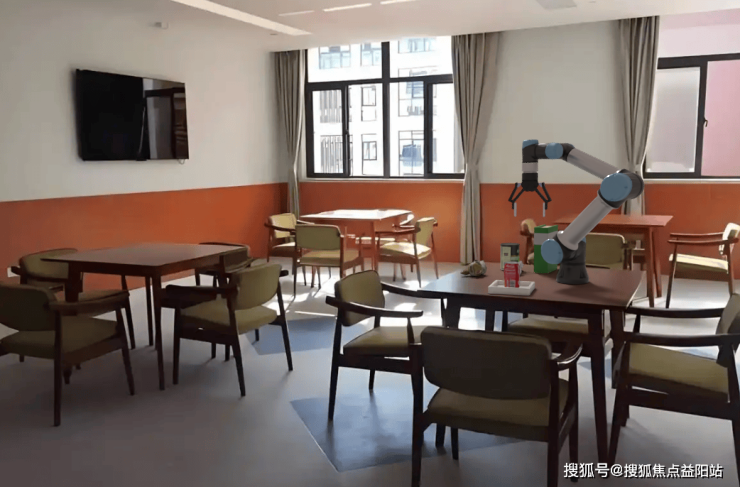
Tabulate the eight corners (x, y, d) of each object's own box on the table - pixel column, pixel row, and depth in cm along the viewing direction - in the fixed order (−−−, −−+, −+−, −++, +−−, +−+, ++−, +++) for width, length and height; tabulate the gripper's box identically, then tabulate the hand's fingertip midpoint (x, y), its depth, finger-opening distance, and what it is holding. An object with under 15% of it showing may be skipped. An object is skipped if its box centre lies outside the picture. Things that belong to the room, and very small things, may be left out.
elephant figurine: (516, 272, 348) (516, 259, 347) (525, 275, 339) (525, 261, 338) (503, 273, 346) (503, 260, 345) (511, 276, 337) (512, 262, 336)
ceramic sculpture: (491, 258, 342) (476, 263, 331) (492, 274, 343) (477, 280, 332) (474, 256, 349) (458, 261, 338) (474, 272, 350) (459, 278, 339)
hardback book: (543, 268, 362) (544, 224, 359) (557, 268, 358) (558, 224, 355) (533, 272, 347) (534, 227, 344) (547, 273, 343) (548, 227, 340)
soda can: (514, 286, 303) (515, 260, 302) (522, 289, 296) (523, 262, 295) (501, 287, 301) (501, 261, 300) (508, 290, 294) (508, 263, 293)
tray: (534, 288, 304) (534, 281, 304) (529, 295, 287) (529, 288, 287) (495, 286, 310) (495, 279, 310) (488, 293, 294) (488, 286, 293)
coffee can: (519, 268, 363) (519, 242, 362) (519, 271, 353) (519, 244, 352) (500, 267, 365) (500, 242, 364) (500, 270, 355) (500, 244, 354)
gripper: (557, 171, 314) (557, 216, 317) (505, 172, 323) (504, 215, 326) (556, 171, 307) (555, 217, 310) (502, 172, 316) (502, 216, 319)
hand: (529, 216), depth 318 cm, fingers open, 13 cm apart
